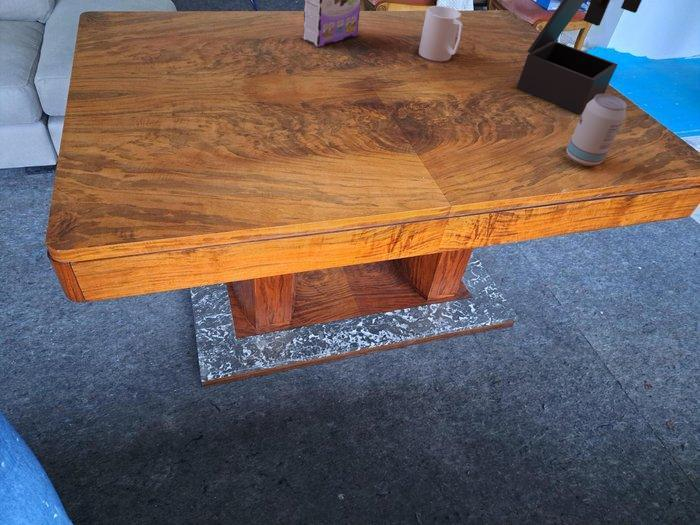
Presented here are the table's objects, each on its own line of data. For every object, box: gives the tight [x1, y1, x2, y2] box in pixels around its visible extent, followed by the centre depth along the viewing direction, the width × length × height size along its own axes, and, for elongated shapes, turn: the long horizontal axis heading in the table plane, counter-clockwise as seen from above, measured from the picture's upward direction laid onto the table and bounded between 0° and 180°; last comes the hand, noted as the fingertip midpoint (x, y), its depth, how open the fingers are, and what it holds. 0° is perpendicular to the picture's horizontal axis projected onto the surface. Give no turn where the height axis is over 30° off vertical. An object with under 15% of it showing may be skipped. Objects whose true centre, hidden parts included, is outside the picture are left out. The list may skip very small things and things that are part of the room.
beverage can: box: [565, 93, 628, 167], centre depth 94 cm, size 7×7×12 cm
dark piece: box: [516, 40, 619, 115], centre depth 116 cm, size 16×14×8 cm
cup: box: [418, 5, 464, 62], centre depth 123 cm, size 8×12×10 cm
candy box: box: [302, 0, 362, 48], centre depth 123 cm, size 14×6×16 cm, turn 134°
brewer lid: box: [527, 0, 586, 54], centre depth 110 cm, size 16×14×9 cm
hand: (610, 16), depth 89 cm, fingers open, 13 cm apart
